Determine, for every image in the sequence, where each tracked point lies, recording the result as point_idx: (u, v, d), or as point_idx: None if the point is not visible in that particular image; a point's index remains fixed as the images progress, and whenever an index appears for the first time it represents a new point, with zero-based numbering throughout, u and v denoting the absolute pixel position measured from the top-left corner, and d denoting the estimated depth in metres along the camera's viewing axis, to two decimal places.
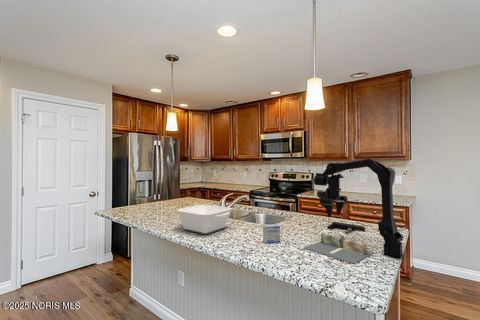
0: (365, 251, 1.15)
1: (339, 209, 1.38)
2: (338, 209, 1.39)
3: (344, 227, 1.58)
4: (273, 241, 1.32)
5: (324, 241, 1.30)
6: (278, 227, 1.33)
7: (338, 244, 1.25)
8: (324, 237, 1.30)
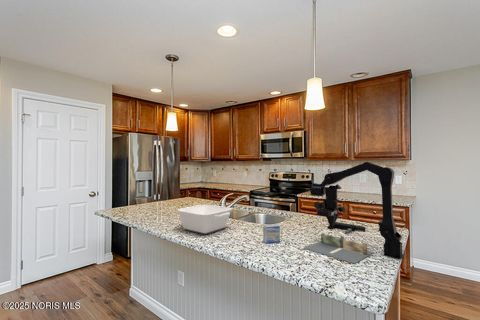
0: (365, 251, 1.15)
1: None
2: None
3: (344, 227, 1.58)
4: (273, 241, 1.32)
5: (324, 241, 1.30)
6: (278, 227, 1.33)
7: (338, 244, 1.25)
8: (324, 237, 1.30)
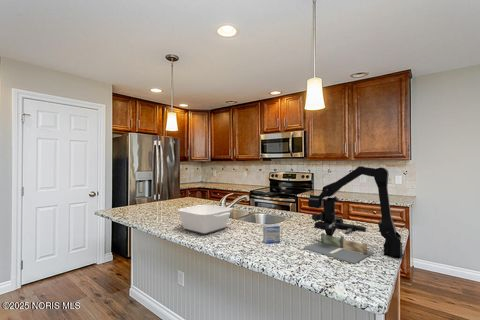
0: (365, 251, 1.15)
1: None
2: None
3: (344, 227, 1.57)
4: (273, 241, 1.32)
5: (324, 241, 1.30)
6: (278, 227, 1.33)
7: (338, 244, 1.25)
8: (324, 237, 1.30)
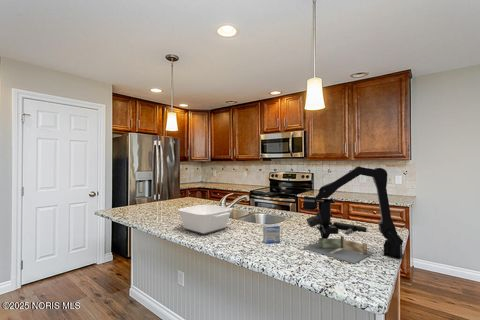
0: (365, 251, 1.15)
1: None
2: None
3: (345, 227, 1.57)
4: (273, 241, 1.32)
5: (323, 246, 1.23)
6: (278, 227, 1.33)
7: (339, 245, 1.23)
8: (323, 241, 1.23)
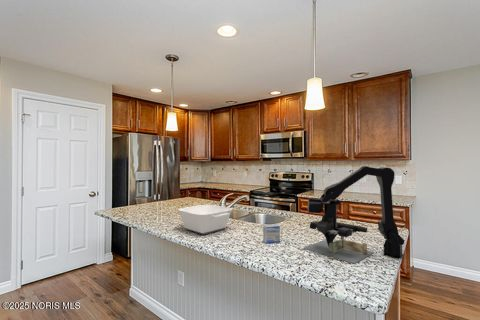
0: (365, 251, 1.15)
1: None
2: None
3: None
4: (273, 241, 1.32)
5: (333, 250, 1.17)
6: (278, 227, 1.33)
7: (341, 246, 1.22)
8: (333, 245, 1.17)
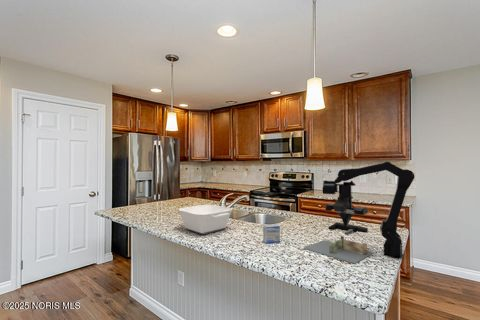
0: (365, 251, 1.15)
1: None
2: None
3: (346, 228, 1.56)
4: (273, 241, 1.32)
5: (334, 250, 1.17)
6: (278, 227, 1.33)
7: (341, 246, 1.22)
8: (334, 245, 1.17)
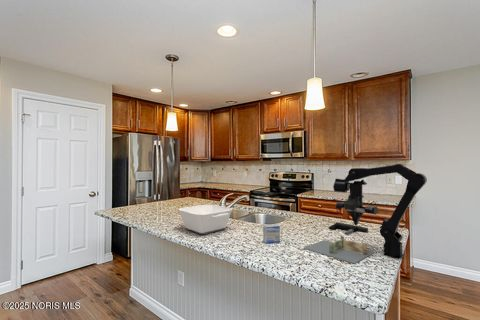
0: (365, 251, 1.15)
1: None
2: None
3: (346, 228, 1.56)
4: (273, 241, 1.32)
5: (334, 250, 1.17)
6: (278, 227, 1.33)
7: (341, 246, 1.22)
8: (334, 245, 1.17)
